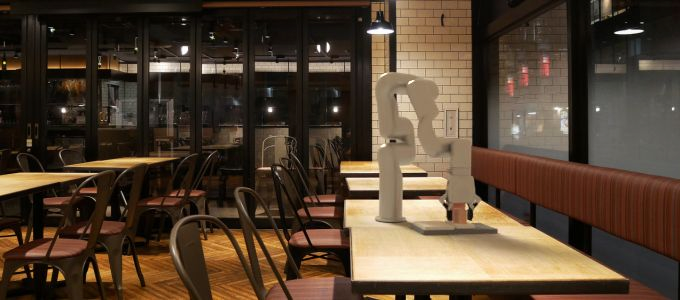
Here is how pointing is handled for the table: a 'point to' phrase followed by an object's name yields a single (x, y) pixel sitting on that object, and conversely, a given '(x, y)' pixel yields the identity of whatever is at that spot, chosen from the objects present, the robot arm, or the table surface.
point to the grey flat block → (449, 228)
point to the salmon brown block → (460, 219)
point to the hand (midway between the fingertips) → (459, 220)
